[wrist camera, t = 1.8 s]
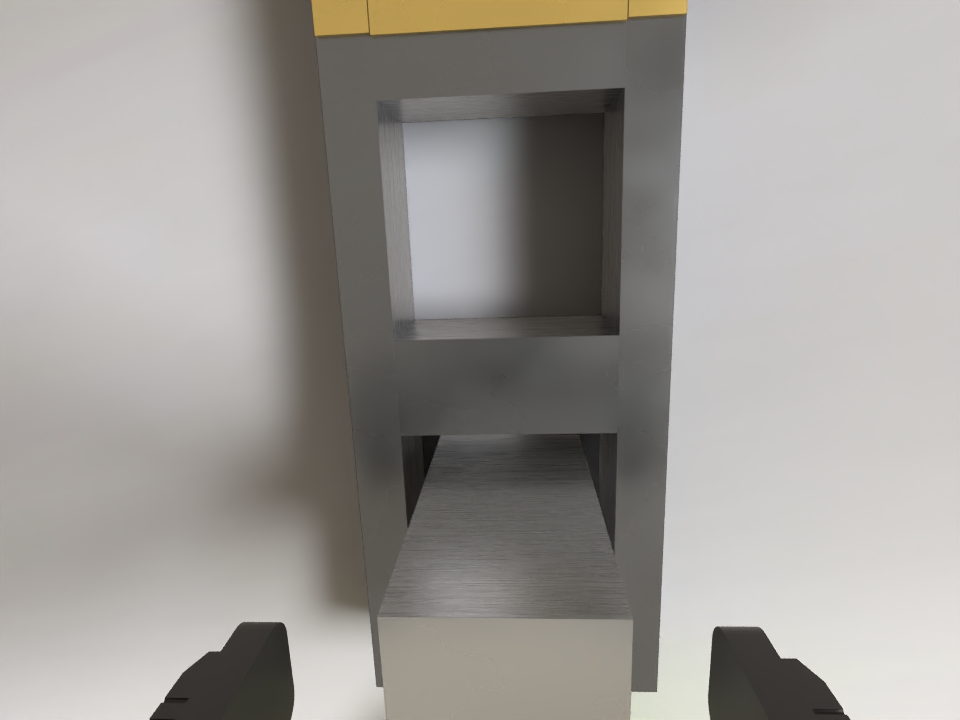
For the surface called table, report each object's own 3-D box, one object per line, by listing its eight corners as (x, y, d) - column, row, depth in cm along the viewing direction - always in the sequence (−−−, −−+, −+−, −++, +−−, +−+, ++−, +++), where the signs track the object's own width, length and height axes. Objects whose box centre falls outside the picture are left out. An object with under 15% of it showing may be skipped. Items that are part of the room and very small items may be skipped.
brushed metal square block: (574, 420, 18) (633, 620, 9) (574, 537, 18) (626, 822, 10) (445, 422, 18) (377, 616, 9) (451, 537, 19) (395, 814, 10)
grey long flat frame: (666, -379, 13) (713, -563, 10) (635, 619, 19) (657, 695, 16) (319, -342, 13) (262, -506, 10) (397, 617, 20) (375, 689, 17)
